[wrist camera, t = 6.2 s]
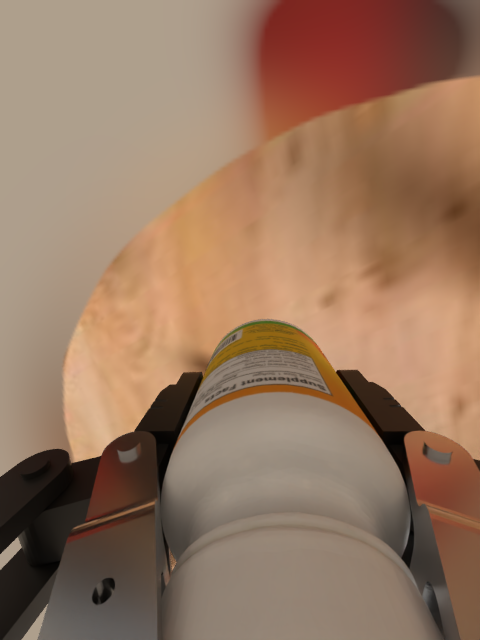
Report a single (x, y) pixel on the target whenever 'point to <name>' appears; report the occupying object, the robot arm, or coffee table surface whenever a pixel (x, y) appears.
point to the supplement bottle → (285, 505)
